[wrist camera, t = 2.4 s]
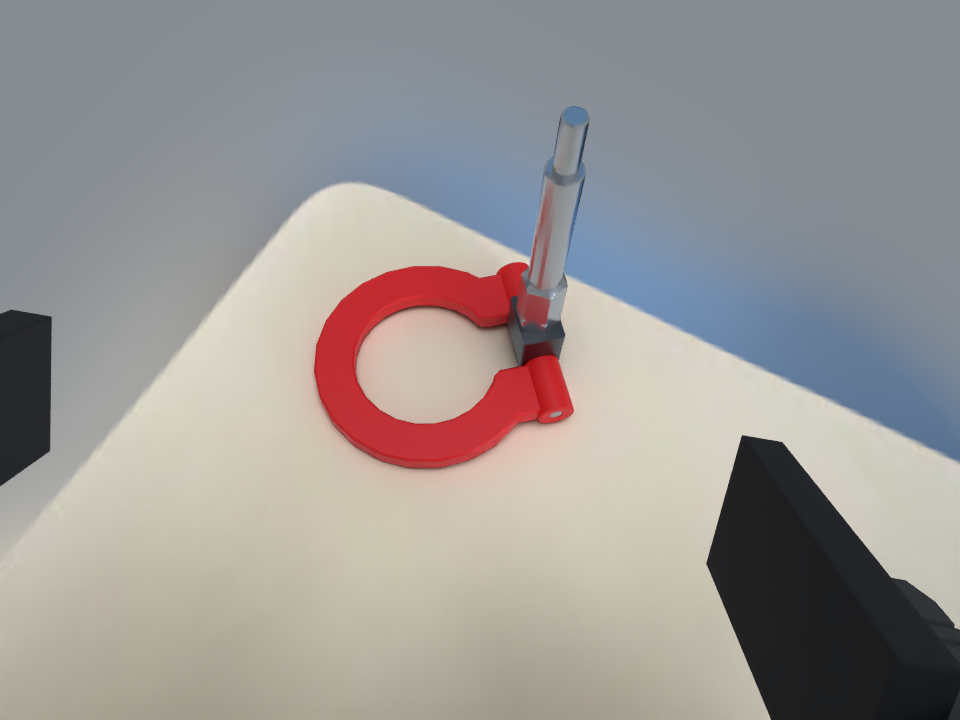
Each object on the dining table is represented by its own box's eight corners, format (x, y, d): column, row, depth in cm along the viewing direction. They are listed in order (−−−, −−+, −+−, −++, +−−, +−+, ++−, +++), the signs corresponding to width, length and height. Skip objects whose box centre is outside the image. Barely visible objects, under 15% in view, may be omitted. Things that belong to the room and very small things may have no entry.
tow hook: (336, 494, 30) (580, 442, 31) (266, 311, 18) (657, 240, 20) (304, 300, 33) (523, 261, 35) (229, 47, 22) (560, 2, 23)
